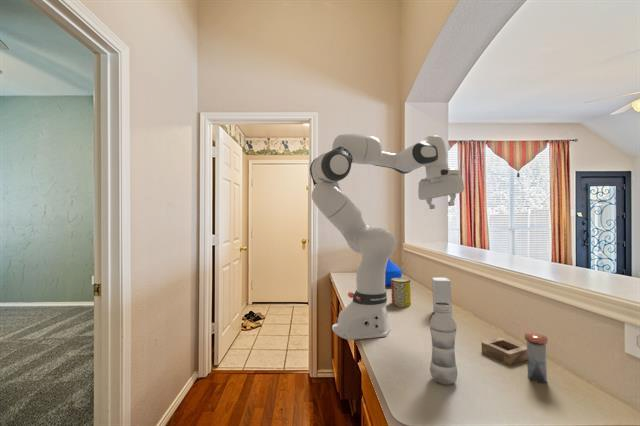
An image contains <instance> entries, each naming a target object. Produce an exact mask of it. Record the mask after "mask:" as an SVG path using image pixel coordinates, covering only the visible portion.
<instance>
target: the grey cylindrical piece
mask: <svg viewBox="0 0 640 426" xmlns="http://www.w3.org/2000/svg"><path fill="white" fill-rule="evenodd" d="M524 339H525V341H526V347H527V360H526V361H527V362H526V363H527V378H528V379H529V380H531V381H533V382H536V383H539V384H545V383H547V381H548V375H547V347H546V345H547V344H548V339H549V338H548V337H547V336H546V335H544V334H540V333H535V332H526V333H524Z"/></svg>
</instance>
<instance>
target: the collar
mask: <svg viewBox="0 0 640 426" xmlns="http://www.w3.org/2000/svg"><path fill="white" fill-rule="evenodd" d="M481 352H482V353H484V354H486V355H488V356H491V357H493V358H494V359H497V360H498V361H501V362H503V363H505V364H507V365H509V366H510V365H513V364H517V363H521V362H523V361H527V346H525V345H522V344H519V343H518V342H514V341H512V340H509V339H507V338H504V337H502V336H501V337H497V338H492V339H488V340H484V341H481Z"/></svg>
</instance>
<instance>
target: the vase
mask: <svg viewBox="0 0 640 426" xmlns="http://www.w3.org/2000/svg"><path fill="white" fill-rule="evenodd" d="M402 276H403V272H402V269H401V268H400V267H399V266H398V265H396V264H395V263H394V262H393V261H391V259H390V258H389V259H388V262H387V266H386V271H385V287H392V286H391V279H393V278H402Z"/></svg>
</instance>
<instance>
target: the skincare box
mask: <svg viewBox="0 0 640 426" xmlns="http://www.w3.org/2000/svg"><path fill="white" fill-rule="evenodd" d="M451 286H452V285H451V280H450V279H449V278H447V277H431V288H432V289H431V292H432V311H433V313H434V314H435V313H436V311H435V310H434V308H435V303H436V302H445V303H448V304H450V311H451V312H450V315H451V316H452V317H453V309H452V289H451V288H452V287H451Z"/></svg>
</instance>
